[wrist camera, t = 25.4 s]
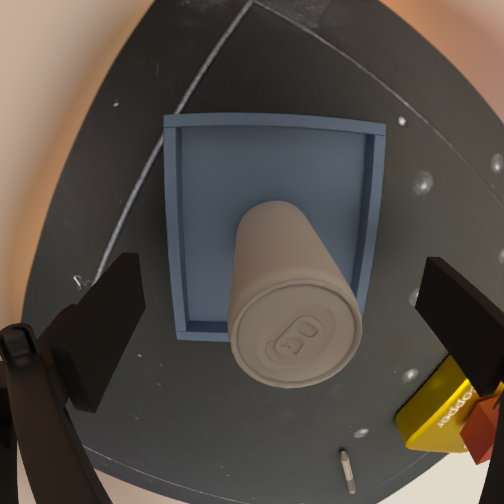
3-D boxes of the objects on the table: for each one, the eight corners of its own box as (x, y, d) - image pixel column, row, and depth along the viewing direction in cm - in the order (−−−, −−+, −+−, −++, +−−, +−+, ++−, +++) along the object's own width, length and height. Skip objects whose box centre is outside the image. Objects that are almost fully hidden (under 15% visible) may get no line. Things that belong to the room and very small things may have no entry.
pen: (345, 444, 32) (348, 453, 30) (355, 487, 36) (357, 495, 35) (337, 447, 32) (339, 456, 30) (348, 489, 36) (350, 496, 35)
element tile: (475, 316, 26) (501, 342, 21) (527, 350, 28) (547, 371, 24) (386, 421, 30) (399, 453, 26) (456, 433, 33) (469, 456, 28)
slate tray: (171, 116, 20) (163, 114, 18) (374, 124, 20) (386, 123, 18) (181, 324, 25) (176, 340, 23) (350, 324, 25) (357, 339, 23)
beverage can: (222, 240, 22) (198, 353, 11) (266, 183, 21) (287, 246, 9) (279, 278, 23) (303, 406, 12) (323, 226, 22) (392, 323, 10)
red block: (478, 402, 24) (499, 435, 19) (508, 392, 24) (529, 421, 19) (459, 433, 26) (476, 465, 21) (489, 422, 26) (507, 451, 21)
